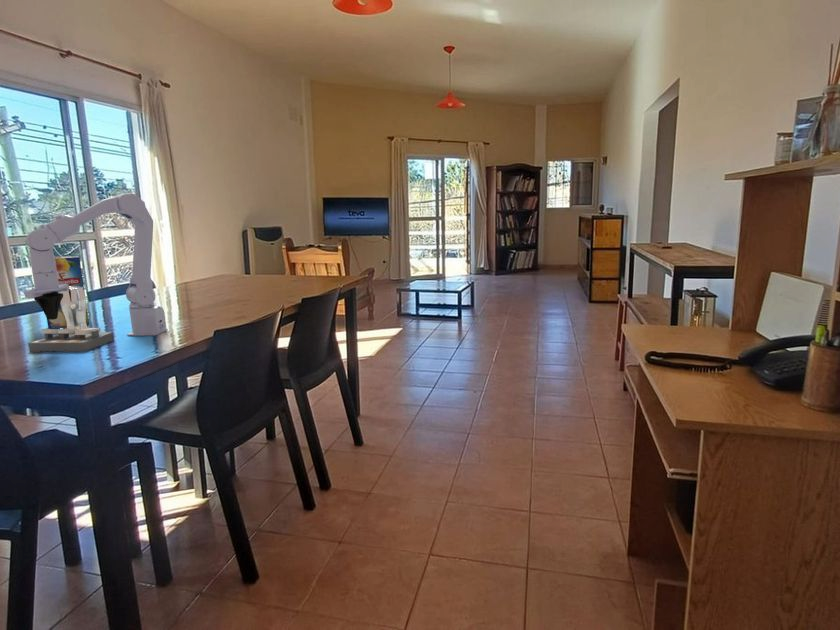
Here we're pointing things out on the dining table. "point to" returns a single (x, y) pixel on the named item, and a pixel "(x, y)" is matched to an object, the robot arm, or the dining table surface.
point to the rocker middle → (67, 331)
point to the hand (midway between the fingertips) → (52, 319)
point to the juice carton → (72, 276)
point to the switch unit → (71, 342)
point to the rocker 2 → (86, 331)
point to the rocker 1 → (49, 331)
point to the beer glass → (74, 307)
